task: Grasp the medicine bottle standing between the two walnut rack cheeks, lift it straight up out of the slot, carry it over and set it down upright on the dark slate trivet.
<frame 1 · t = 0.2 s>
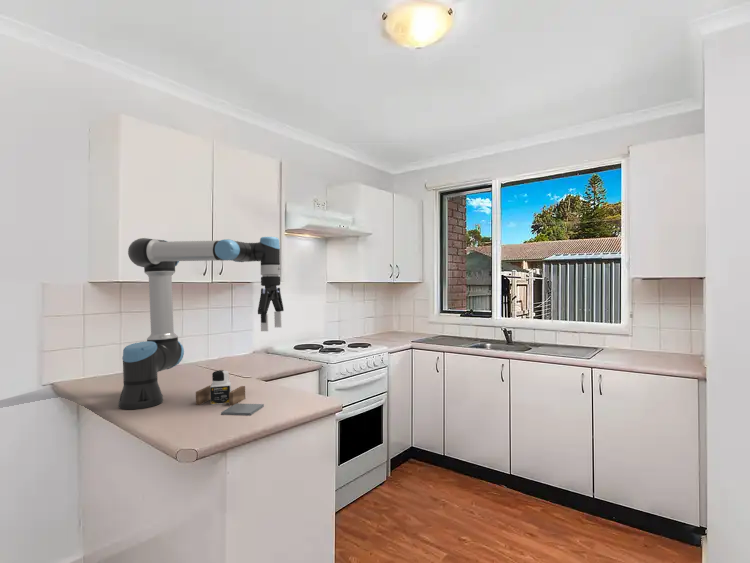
hand: (271, 329, 175), 27 cm above the table, fingers open, 13 cm apart
trivet: (243, 410, 159), on the table
medicine bottle: (221, 402, 171), on the table
rack: (221, 401, 171), on the table
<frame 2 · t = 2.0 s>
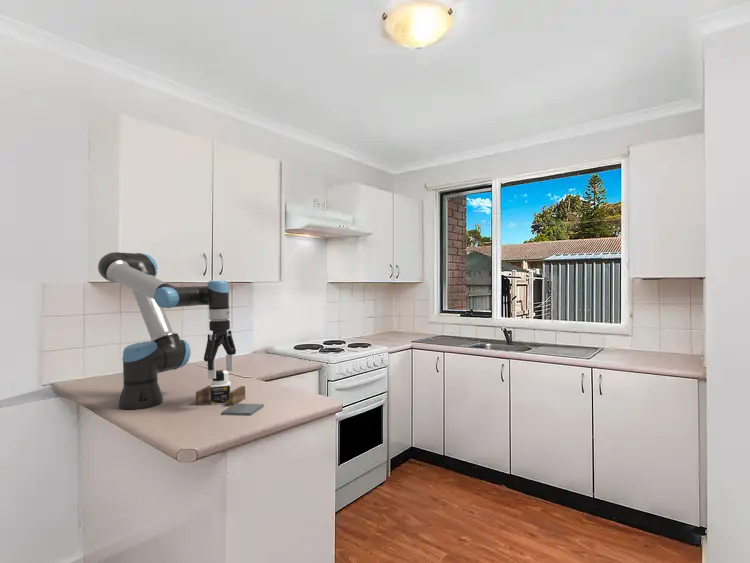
hand: (221, 374, 170), 11 cm above the table, fingers open, 13 cm apart
nothing on the table moved.
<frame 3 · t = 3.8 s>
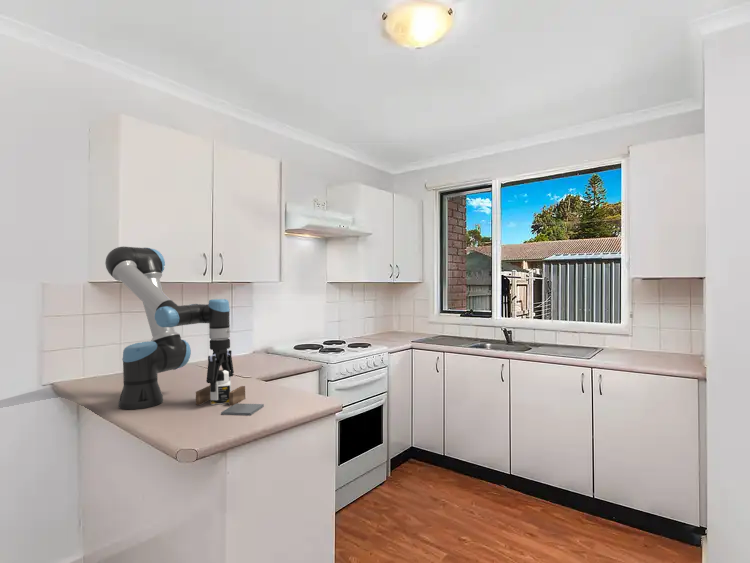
hand: (221, 396, 171), 2 cm above the table, fingers closed on medicine bottle, 9 cm apart
medicine bottle: (221, 402, 171), on the table, touching gripper
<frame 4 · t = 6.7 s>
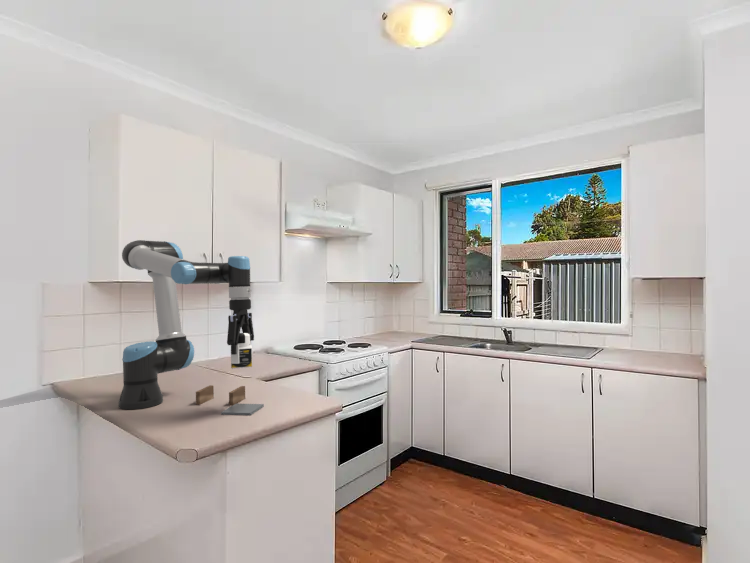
hand: (241, 360, 159), 18 cm above the table, fingers closed on medicine bottle, 9 cm apart
medicine bottle: (242, 367, 159), point 16 cm above the table, touching gripper
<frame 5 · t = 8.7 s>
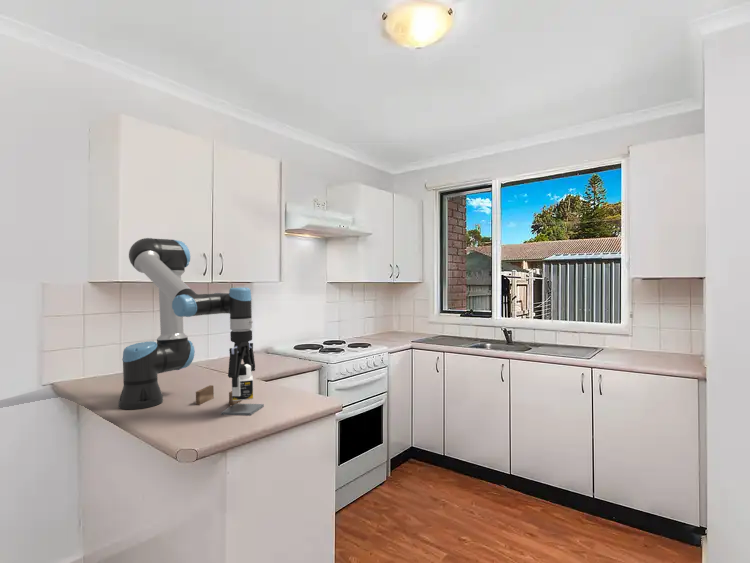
hand: (242, 392, 158), 7 cm above the table, fingers closed on medicine bottle, 9 cm apart
medicine bottle: (243, 398, 158), point 4 cm above the table, touching gripper
when the fingers open (4 cm above the table, at t = 10.1 s): medicine bottle drops 2 cm, resting on trivet.
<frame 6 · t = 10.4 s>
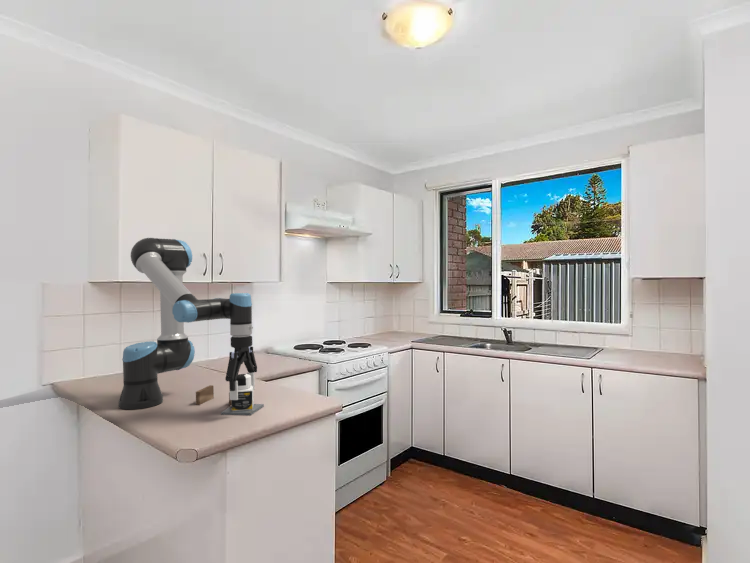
hand: (242, 394, 158), 6 cm above the table, fingers open, 13 cm apart
medicine bottle: (243, 408, 159), point 1 cm above the table, touching trivet
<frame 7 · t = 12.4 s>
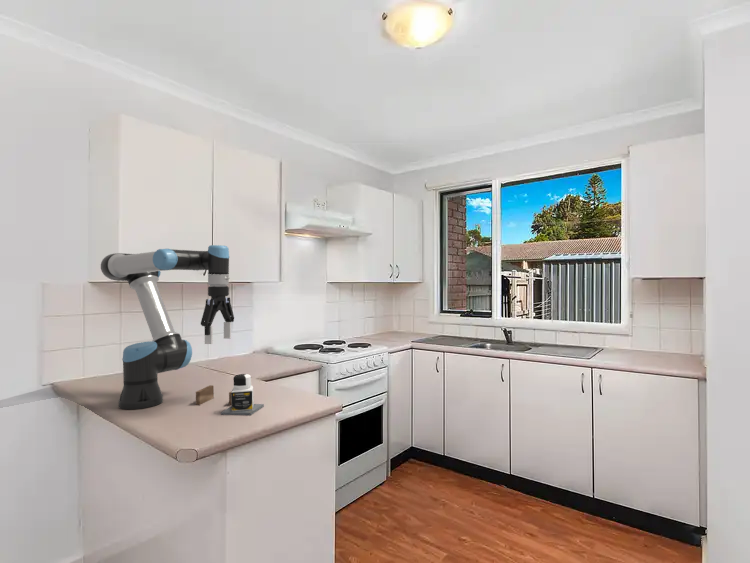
hand: (218, 341, 168), 24 cm above the table, fingers open, 13 cm apart
nothing on the table moved.
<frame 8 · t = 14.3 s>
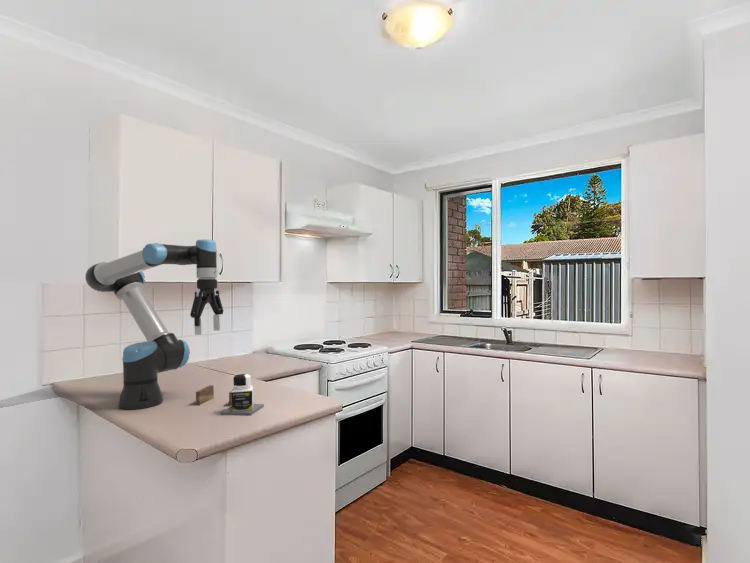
hand: (208, 332, 174), 27 cm above the table, fingers open, 13 cm apart
nothing on the table moved.
at the end: medicine bottle inside the target area on the trivet (0.0 cm from its centre), point 0.6 cm above the trivet's base; medicine bottle tilted 0°; the gripper is holding nothing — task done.
